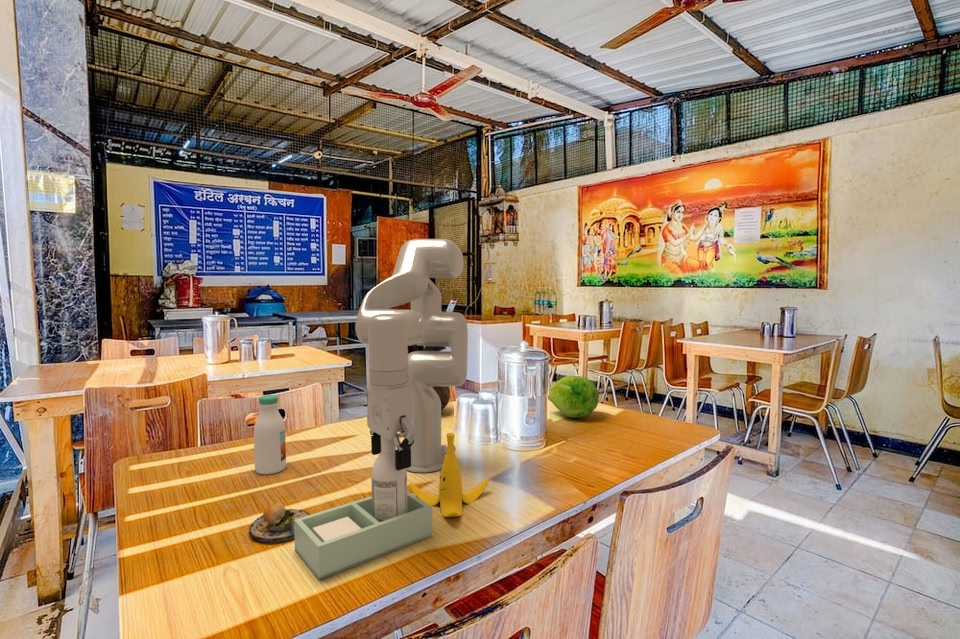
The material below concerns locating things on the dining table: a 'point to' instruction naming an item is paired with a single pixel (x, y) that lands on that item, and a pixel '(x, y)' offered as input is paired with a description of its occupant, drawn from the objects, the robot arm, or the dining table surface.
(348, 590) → the dining table surface
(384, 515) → the bath foam
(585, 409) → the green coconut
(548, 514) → the dining table surface
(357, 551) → the box
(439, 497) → the banana peel
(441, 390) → the ceramic jug
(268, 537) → the burger
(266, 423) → the milk bottle
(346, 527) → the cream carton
